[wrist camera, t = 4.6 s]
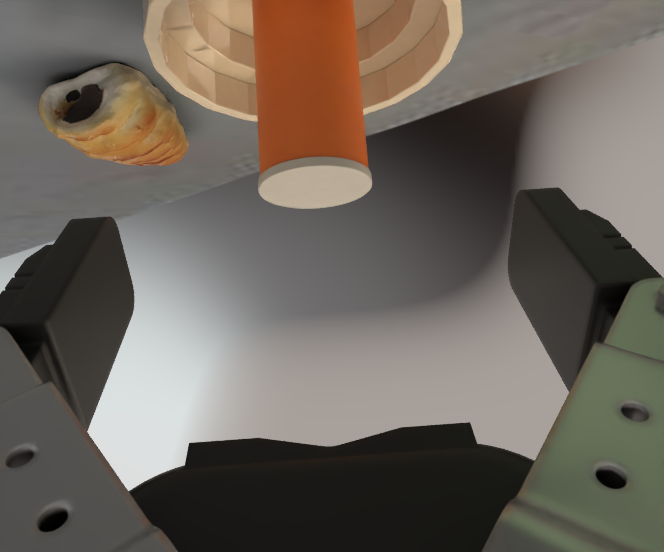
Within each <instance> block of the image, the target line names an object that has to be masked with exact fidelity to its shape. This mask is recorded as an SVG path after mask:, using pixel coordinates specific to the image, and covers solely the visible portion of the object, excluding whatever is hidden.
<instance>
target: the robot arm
mask: <svg viewBox="0 0 664 552" xmlns="http://www.w3.org/2000/svg"><path fill="white" fill-rule="evenodd" d="M508 274H509V280H510V284H511V287H512V289H513V291H514V293H515V295H516V296H517V298H518V300H519V302H520V304H521V306H522V307H523V309H524V311H525V313H526V315H527V317H528V318H529V320H530V322H531V324H532V326H533V327H534V329H535V331H536V333H537V335H538V336H539V338H540V340H541V342H542V344H543V346H544V347H545V349H546V351H547V353H548V355H549V356H550V358H551V360H552V362H553V364H554V365H555V367H556V369H557V371H558V373H559V374H560V376H561V378H562V380H563V382H564V384H565V385H566V387H567V389H568V391H569V394H568V396H567V398H566V400H565V402H564V404H563V406H562V408H561V410H560V412H559V414H558V416H557V418H556V420H555V422H554V424H553V426H552V428H551V430H550V432H549V434H548V436H547V438H546V440H545V442H544V444H543V446H542V448H541V450H540V452H539V454H538V456H537V458H536V460H535V461H534V460H532V459H529V458H527V457H525V456H522V455H520V454H517V453H514V452H511V451H508V450H505V449H501V448H497V447H493V446H488V445H483V444H477V442H476V439H475V436H474V433H473V430H472V427H471V424H470V423H456V424H443V425H429V426H416V427H402V428H398V429H394V430H391V431H387V432H384V433H380V434H377V435H373V436H370V437H366V438H363V439H359V440H356V441H352V442H348V443H345V444H341V445H338V446H333V447H332V446H331V447H325V446H317V445H309V444H300V443H293V442H286V441H277V440H270V439H262V438H252V439H238V440H225V441H211V442H197V443H189V447H188V452H187V457H186V462H185V466H181V467H178V468H175V469H172V470H169V471H167V472H164V473H162V474H159V475H157V476H155V477H153V478H151V479H149V480H147V481H145V482H143V483H141V484H140V485H138V486H137V487H135V488H133V489H132V490H130V491H128V490H127V489H126V488H125V486H124V485H123V483H122V482H121V480H120V479H119V477H118V476H117V475H116V473H115V472H114V470H113V469H112V467H111V466H110V464H109V463H108V462H107V460H106V459H105V457H104V456H103V454H102V453H101V451H100V450H99V449H98V447H97V446H96V444H95V443H94V441H93V440H92V438H91V437H90V436H89V434H88V433H87V431H88V428H89V425H90V423H91V420H92V418H93V415H94V412H95V410H96V407H97V405H98V402H99V400H100V397H101V394H102V392H103V389H104V386H105V384H106V382H107V379H108V376H109V374H110V371H111V369H112V366H113V363H114V361H115V358H116V356H117V353H118V351H119V348H120V345H121V343H122V340H123V338H124V335H125V332H126V330H127V327H128V325H129V322H130V320H131V317H132V314H133V310H134V289H133V284H132V280H131V276H130V272H129V268H128V265H127V261H126V257H125V253H124V249H123V245H122V242H121V238H120V234H119V230H118V227H117V224H116V222H115V221H114V219H113V218H112V217H97V218H82V219H72V220H70V221H69V223H68V224H67V226H66V227H65V228H64V230H63V231H62V233H61V234H60V236H59V237H58V239H57V240H56V241H55V243H54V244H53V245H46V246H44V247H43V248H42V249H40V250H39V251H37V252H36V253H34V254H33V255H31V256H30V257H28V258H27V259H26V260H25V261H24V262H23V264H22V265H21V266H20V268H19V269H18V271H17V272H16V273H15V278H12V279H11V280H10V281H9V283H8V284H7V286H6V287H5V291H2V292H1V294H0V552H664V278H663V277H662V276H661V275H660V274H659V273H658V272H657V271H656V270H655V269H654V268H653V267H652V266H651V265H650V264H649V263H648V262H647V261H646V260H645V259H644V258H643V257H642V256H641V255H640V254H639V252H638V251H637V250H636V249H635V248H632V245H631V244H630V243H629V242H628V241H627V240H626V239H625V238H624V237H621V234H620V233H619V232H618V231H617V230H616V229H615V227H614V226H613V225H612V224H611V223H610V222H609V221H608V220H605V219H603V218H601V217H600V216H598V215H596V214H594V213H592V212H590V211H588V210H579V209H578V208H577V207H576V206H575V204H574V203H573V202H572V201H571V200H570V199H569V198H568V197H567V195H566V194H565V193H564V192H563V191H562V190H561V189H560V188H544V189H530V190H529V189H528V190H520V191H519V192H518V194H517V196H516V199H515V205H514V213H513V222H512V230H511V239H510V247H509V255H508Z"/></svg>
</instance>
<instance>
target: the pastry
mask: <svg viewBox="0 0 664 552" xmlns="http://www.w3.org/2000/svg"><path fill="white" fill-rule="evenodd" d="M39 115H40V116H41V118H42V120H43V122H44V124H45V125H46V127H47V129H48V130H49V131H51V132H54V134H55V135H56V136H57V137H58V138H61V139H62V138H63V139H65V140H66V141H67V142H68V143H69V144H71V145H72V146H73V147H75V148H77V149H80V150H81V151H82V152H84V154H85V155H87V156H89V157H91V158H96V159H98V158H100V159H104V160H112V161H115V162H117V163H122V164H126V165H131V164H136V165H139V166H146V165H163V166H165V165H170V164H173V163H175V162H178V161H180V159H181V158H182V157H183V155H185V153H186V152H187V149H188V145H189V143H188V139H187V138H186V136H185V133H184V128H183V126H182V125H181V123H180V122H179V120H178V118H177V115H176V111H175V107H174V106H173V104H172V103H171V102H169V101H167V99H166V98H165V96H164V95H163V93H161V92H160V91H159V90H158V88H157V87H154V86H153V85H152V84H151V83H150V81H149V80H148V78H147V77H146V76H145V75H144V74H143V73H141V72H140V71H138V70H136V69H133V68H131V67H128V66H125V65H121V64H119V63H110V64H107V65H103V66H101V67H97V68H94V69H92V70H90V71H87V72H85V73H83V74H82V75H80V76H78V77H76V78H74V79H69V80H66V81H62V82H59V83H56V84H53V85H50V86H48V87H47V88H46V90H45V91H44V92H43V94H42V95H41V96H40V102H39Z"/></svg>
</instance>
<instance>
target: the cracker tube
mask: <svg viewBox="0 0 664 552" xmlns="http://www.w3.org/2000/svg"><path fill="white" fill-rule="evenodd" d="M252 13H253V34H254V55H255V77H256V98H257V119H258V141H259V162H260V177H259V180H258V191H259V194H260V195H261V197H262V198H263V199H265V200H266V201H268V202H270V203H273V204H276V205H279V206H284V207H291V208H304V209H305V208H306V209H307V208H308V209H310V208H324V207H331V206H337V205H341V204H344V203H348V202H351V201H354V200H356V199H358V198H360V197H362V196H363V195H365V194H366V193H367V192H368V191H369V190H370V189H371V186H372V176H371V172H370V170H369V169H368V158H367V147H366V136H365V125H364V114H363V103H362V92H361V81H360V70H359V59H358V48H357V37H356V26H355V15H354V4H353V0H252Z"/></svg>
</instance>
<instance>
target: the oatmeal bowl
mask: <svg viewBox="0 0 664 552" xmlns="http://www.w3.org/2000/svg"><path fill="white" fill-rule="evenodd" d="M353 4H354V15H355V26H356V37H357V48H358V59H359V70H360V81H361V92H362V103H363V114H364V115H365V114H368V113H371V112H374V111H376V110H379V109H382V108H385V107H387V106H390V105H393V104H395V103H398V102H399V101H401V100H403V99H404V98H406V97H408V96H409V95H411V94H413V93H414V92H416V91H418V90H419V89H421V88H423V87H424V86H426V85H427V84H428V83H429V82H430V81H431V80H432V79H433V78H434V77H435V76H436V75H437V74H438V73H439V72H440V71H441V70H442V69H443V68H444V67H445V66H446V65H447V64H448V63H449V62H450V60H451V58H452V56H453V54H454V52H455V49H456V47H457V45H458V43H459V40H460V38H461V36H462V34H463V20H462V5H461V0H353ZM143 39H144V42H145V45H146V47H147V50H148V53H149V55H150V58H151V61H152V63H153V66H154V68H155V69H156V70H157V71H158V72H159V73H160V74H161V75H162V77H163V78H164V79H165V80H166V81H167V82H168V83H169V84H170V85H171V86H172V87H173V88H174V89H175V90H176V91H178V92H179V93H180V94H182V95H184V96H186V97H188V98H189V99H191V100H193V101H195V102H197V103H198V104H200V105H202V106H204V107H206V108H209V109H210V110H213V111H217V112H220V113H223V114H227V115H230V116H233V117H237V118H240V119H245V120H249V121H257V122H258V119H257V98H256V77H255V55H254V34H253V13H252V0H143Z"/></svg>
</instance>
